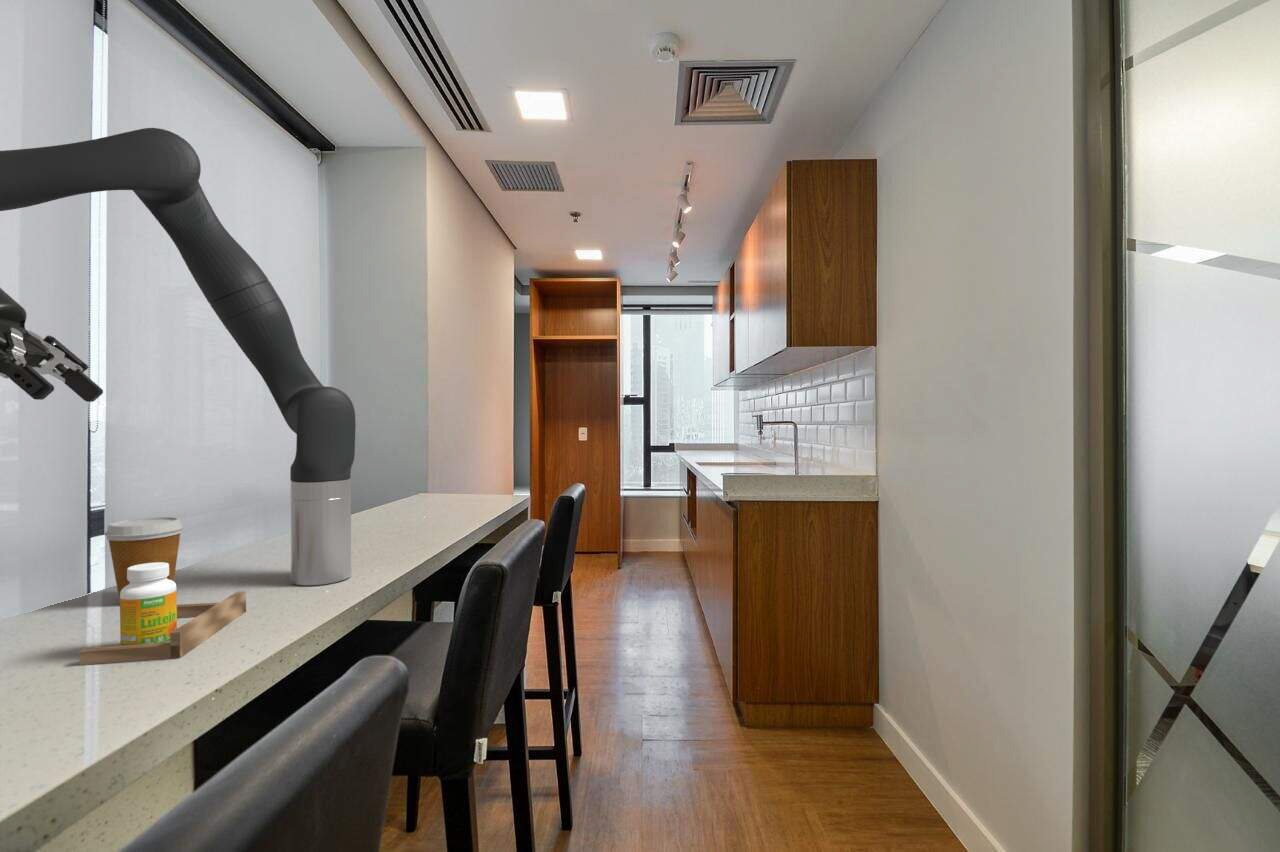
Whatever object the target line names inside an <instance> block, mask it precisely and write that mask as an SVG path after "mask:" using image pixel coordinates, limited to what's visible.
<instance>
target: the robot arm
mask: <svg viewBox="0 0 1280 852" xmlns="http://www.w3.org/2000/svg"><path fill="white" fill-rule="evenodd" d="M200 161H201V160H200V158H199V155H198V154H197V152H196V150H195V149H194V147H193V146H192V145H191V144H190V143H189V142H188V141H187V140H186V139H185V138H183V137H181V136H180V135H179V134H176V133H174V132H172V131H169V130H166V129H163V128H158V127H157V128H156V127H145V128H139V129H135V130H132V131H131V130H130V131H126V132H125V131H124V132H121V133H118V134H113V135H108V136H103V137H100V138H95V139H88V140H84V141H77V142H71V143H65V144H64V143H63V144H57V145H49V146H42V147H41V146H40V147H31V148H20V149H19V148H18V149H8V150H0V212H5V211H12V210H17V209H23V208H28V207H32V206H33V207H34V206H37V205H42V204H45V203H48V202H53V201H57V200H60V199H64V198H68V197H74V196H78V195H82V194H83V195H84V194H89V193H99V192H107V191H108V192H109V191H132V192H134V194H135V196H136V197H137V198H139V200H140V201H141V203H142V204H143V205H144V206H145V207H146V208H147V209H148V211H149V212H150V213H151V215H153V217H154V218H155V220H156V221H157V222H158V223H159V225H160V227H162V228H163V229H164V231H165V232H166V234H167V235H168V236H169V237H170V239H171V240H172V242H173V243H174V245H175V246H176V248H177V251H179V252H178V253H180V255H181V258H182V259H183V261H184V263H185V265H186V267H187V269H188V271H189V272H190V274H191V276H192V278H193V279H194V281H195V282H196V284H197V286H198V287H199V290H200V291H201V292H202V294H203V296H204V297H205V299H206V301H207V302H208V304H210V307H211V308H212V310H213V312H214V313H215V314H216V316H217V318H218V319H219V320H220V322H221V323H222V324H223V327H225V329H226V331H228V333H229V334H230V336H231V337H232V338H233V340H234V341H235V343H236V345H238V347H239V348H240V350H241V351H242V352H243V354H244V355H245V356H246V357H247V359H248V361H250V364H252V365H253V367H254V368H255V369H256V370H257V372H258V373H259V375H260V376H261V378H262V379H263V381H264V382H265V385H266V386H267V388H268V390H269V392H270V394H271V396H272V397H273V399H274V402H275V403H276V405H277V408H278V410H279V411H280V413H281V415H282V416H283V418H284V421H285V423H286V425H287V426H288V427H289V428H290V430H291V431H292V432H294V433H295V434H296V449H295V456H294V460H293V462H292V463H291V465H290V473H289V474H290V550H291V551H290V554H291V555H290V557H291V558H290V572H291V573H290V574H291V576H290V577H291V581H290V582H291V583H292V584H293V585H297V586H319V585H320V586H321V585H327V584H334V583H338V582H342V581H344V580H347V579H349V578H351V576H352V499H351V498H352V495H351V492H352V491H351V486H352V485H351V484H352V483H351V473H352V472H351V470H352V467H353V464H354V461H355V456H356V455H355V452H356V411H355V406H354V404H353V401H352V400H351V398H350V397H349V396H348V394H346V393H345V392H344V391H343V390H342V389H339V388H336V387H333V386H324V385H323V384H322V383H321V381H320V380H319V379H318V377H317V376H316V375H315V373H314V372H313V370H312V369H311V368H310V366H309V364H308V362H306V360H305V358H304V356H303V354H302V352H301V350H300V347H299V344H298V339H297V337H296V334H295V333H296V332H295V330H294V326H293V324H292V321H291V318H290V316H289V313H288V310H287V309H286V306H285V305H284V303H283V301H282V299H281V298H280V296H279V295H278V293H277V290H276V289H275V288H274V285H272V283H271V281H270V280H269V278H268V277H267V274H265V273H264V271H263V269H262V268H261V267H260V266H259V265H258V263H257V261H255V260H254V259H253V257H252V256H251V255H250V254H249V253H248V252H247V251H246V250H245V249H244V248H243V247H242V246H241V244H239V242H237V241H236V239H234V237H233V236H232V235H231V234H230V233H229V232H228V231H227V229H226V228H225V227H224V225H223V224H222V222H221V221H220V219H219V218H218V216H217V215H216V213H215V211H214V209H213V207H212V205H211V203H210V201H209V200H208V198H207V196H206V194H205V192H204V190H203V188H202V186H201V184H200V181H199V180H200V179H201V178H200V177H201V172H202V171H201V170H202V169H201V168H202V167H201V162H200ZM26 321H27V311H26V310H25V308H24V306H22V305H20V303H18V302H17V301H16V300H15V299H14V298H12V297H11V296H10V295H9V294H8V293H7V292H6V291H4V290H3V289H2V288H1V287H0V377H2V378H4V379H9V380H11V382H13V383H14V384H15V385H16V386H18V387H19V388H20V389H21V390H23V391H24V392H25V393H26V394H27V395H28V396H29V397H30V398H32V399H33V400H38V401H39V400H45V399H46V398H47V397H48V396H49V395H50V394H51V393H52V392H54V390H55V386H54V385H53V384H52V383H51V382H49V380H47V379H46V378H45V377H43V375H50V376H52V377H54V378H56V379H58V380H60V381H61V382H63V383H64V384H65V385H66V386H67V387H68V388H69V389H70V390H72V391H73V392H74V393H75V394H76V395H77V396H79V398H81V399H82V400H84V402H86V403H87V402H89V403H93V402H95V401H96V400H97V399H98V398H99V397H100V396H102V395H103V394H104V390H103V389H102V388H101V387H100V385H98V384H97V383H96V382H94V381H93V380H92V379H91V378H90V377H89V376H88V375H87V374H85V373H84V372H86V370H88V369H90V368H89V365H88V364H87V363H85V362H84V361H83V360H82V359H80V358H79V357H78V356H77V355H76V354H74V353H73V352H72V351H71V350H70V349H68V348H67V347H66V345H63V344H62V343H61V342H60V341H59V340H57V339H56V337H54V336H52V335H48V334H47V335H46V336H45V337H44V338H43V337H42V336H40V335H39V334H37V333H35V332H33V331H32V330H28V329H26V328H25V327H26V325H25V324H26ZM43 361H46V362H45V363H43V364H42V362H43Z"/></svg>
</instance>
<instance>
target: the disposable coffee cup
mask: <svg viewBox="0 0 1280 852" xmlns="http://www.w3.org/2000/svg"><path fill="white" fill-rule="evenodd" d="M183 529H185V525H183V524H182V521H181V518H180V517H173V516H159V517H158V516H157V517H156V516H155V517H142V518H134V519H125V520H119V521H115V522H111V523H108V526H107V529H106V531H105V532H104V534H103V535H104V536H105V537H106V540H108V543H109V550H110V555H111V561H112V566H113V572H114V578H115V579H114V580H115V583H116V589H117V594H118V600H119V601H118V602H120V592H121V590H122V589H123V588H124V587H125V586H127V585H129V584H130V581H128V580H127V569H128V568H129V567H131V566H135V565H139V564H145V563H155V562H164V563H168V564H169V576H167V579H169V580H172V581H174V582H175V576H176V568H177V561H178V553H179V547H180V546H179V545H180V538H181V533H183Z"/></svg>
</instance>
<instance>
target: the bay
mask: <svg viewBox="0 0 1280 852" xmlns="http://www.w3.org/2000/svg"><path fill="white" fill-rule="evenodd" d="M246 592H247V591H246V590H237V591H236V592H234V593H233V594H231V595H229V596H228V597H227V598H224V599H223V600H221V601H219V602H218V601H217V602H203V603H199V602H198V603H186V604H185V603H184V604H177V619H178V618H191V619H190V620H189V621H187V622H186V623H184V624H182V625H181V626H178V627H177V629H176V630H174V631H173V632H171V633H170V642H169V643H153V644H138V645H122V646H121V644H118V645H109V646H94V647H93V646H92V647H86V648H83V649H82V650H80V651H79V666H82V665H83V666H84V665H97V664H98V665H99V664H111V663H112V664H113V663H127V662H141V661H153V660H154V661H156V660H170V659H171V660H172V659H181V658H183V657H184V656H185V655H186V654H189V652H191V651H193V650H194V649H195V648H197V647H198V646H199V645H201V644H202V643H203V642H205V641H206V640H208V639H209V638H211V637H212V636H213V635H215V634H216V633H218V632H220V631H221V630H222V629H224V627H226V626H228V624H230V623H232V622H233V621H234V620H236V619H237V618H239V617H240V616H241V615H243V614H244V613H246V612H247V593H246Z"/></svg>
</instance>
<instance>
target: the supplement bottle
mask: <svg viewBox="0 0 1280 852" xmlns="http://www.w3.org/2000/svg"><path fill="white" fill-rule="evenodd" d="M167 576H169V564H168V563H164V562H155V563H145V564H139V565H135V566H131V567H129V568H128V569H127V580H128V581H130V584H129V585H127V586H125V587H124V588H123V589H122V590H121V592H120V601H119V622H120V624H119V625H120V626H119V627H120V633H119V634H120V635H119V637H120V639H119V640H120V644H121V646H122V645H138V644H153V643H169V642H170V633H171V632H173V631H174V630H176V629H177V628H178V621H177V620H178V618H177V605H178V604H177V599H178V598H177V593H178V591H177V590H178V589H177V584H176V582H175V580H174V581H172V580H169V579H167ZM120 644H119V645H120Z"/></svg>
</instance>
